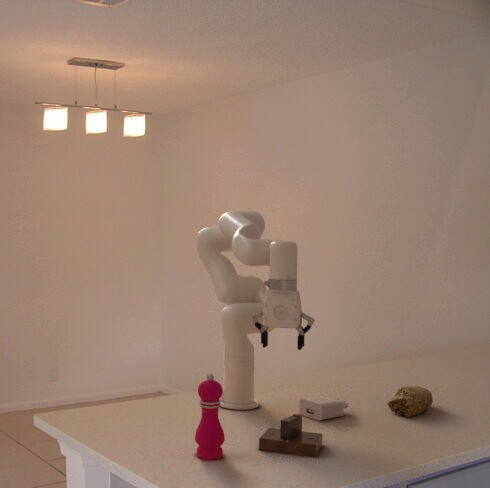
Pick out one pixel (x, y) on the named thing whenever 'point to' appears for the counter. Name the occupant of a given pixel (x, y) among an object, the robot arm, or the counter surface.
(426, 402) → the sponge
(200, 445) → the pepper mill
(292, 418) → the dark bar red tip
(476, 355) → the counter surface
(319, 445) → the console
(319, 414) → the charger
